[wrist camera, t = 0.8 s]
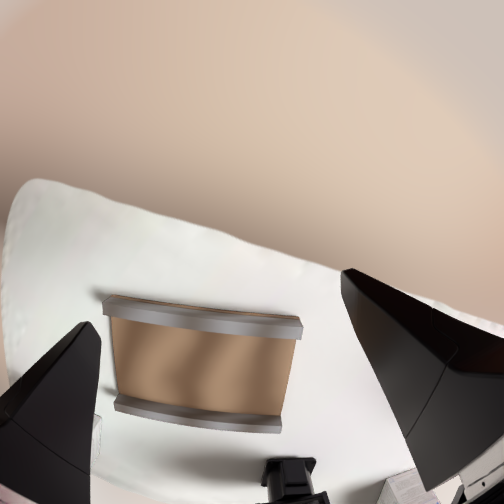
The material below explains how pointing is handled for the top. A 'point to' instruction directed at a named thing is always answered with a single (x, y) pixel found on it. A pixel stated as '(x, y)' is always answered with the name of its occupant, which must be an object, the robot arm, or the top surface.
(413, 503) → the light bulb box
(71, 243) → the top surface
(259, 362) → the track board
